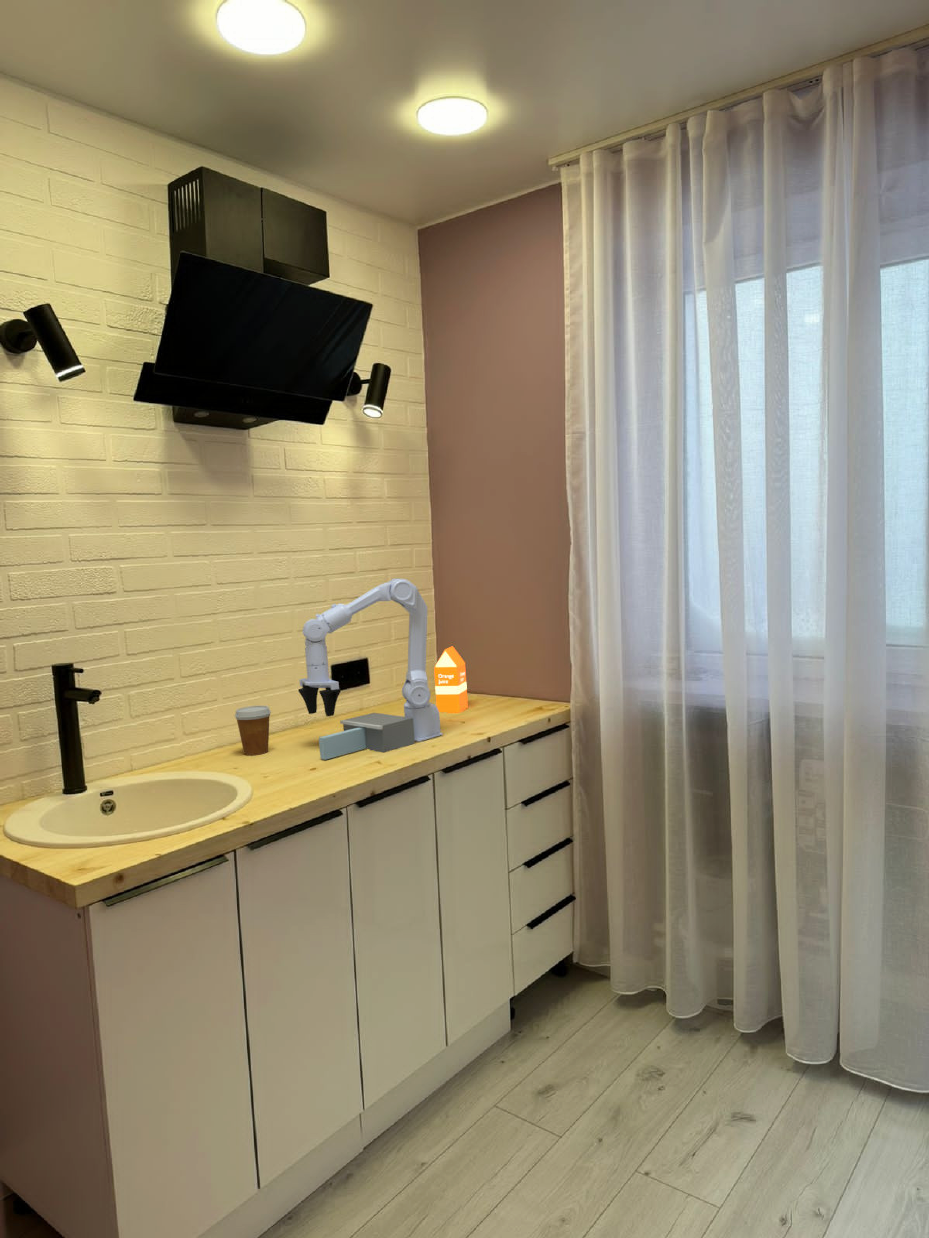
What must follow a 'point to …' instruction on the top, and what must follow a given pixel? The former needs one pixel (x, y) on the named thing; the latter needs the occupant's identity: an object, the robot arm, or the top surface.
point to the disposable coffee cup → (254, 729)
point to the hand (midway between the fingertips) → (321, 714)
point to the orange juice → (451, 682)
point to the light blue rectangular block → (342, 743)
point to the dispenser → (383, 730)
